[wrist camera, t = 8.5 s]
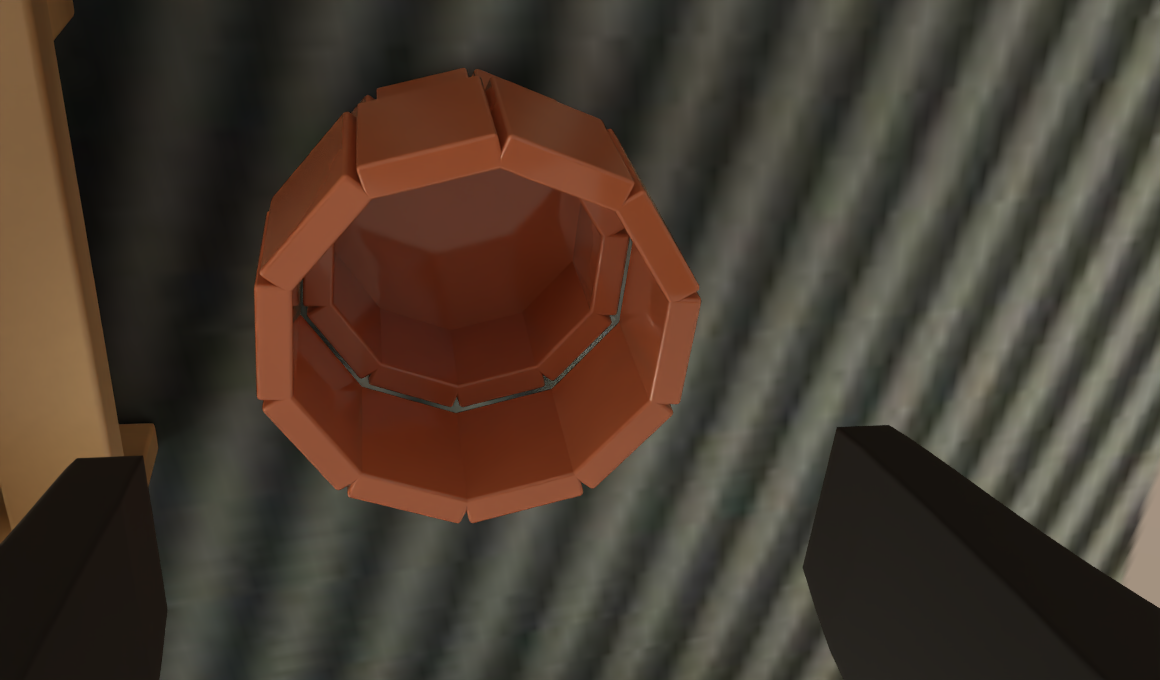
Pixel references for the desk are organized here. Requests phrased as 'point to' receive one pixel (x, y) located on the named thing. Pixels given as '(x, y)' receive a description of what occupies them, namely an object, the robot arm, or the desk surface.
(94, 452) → the bowl rack
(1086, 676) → the robot arm
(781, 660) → the desk surface
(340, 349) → the terracotta bowl
